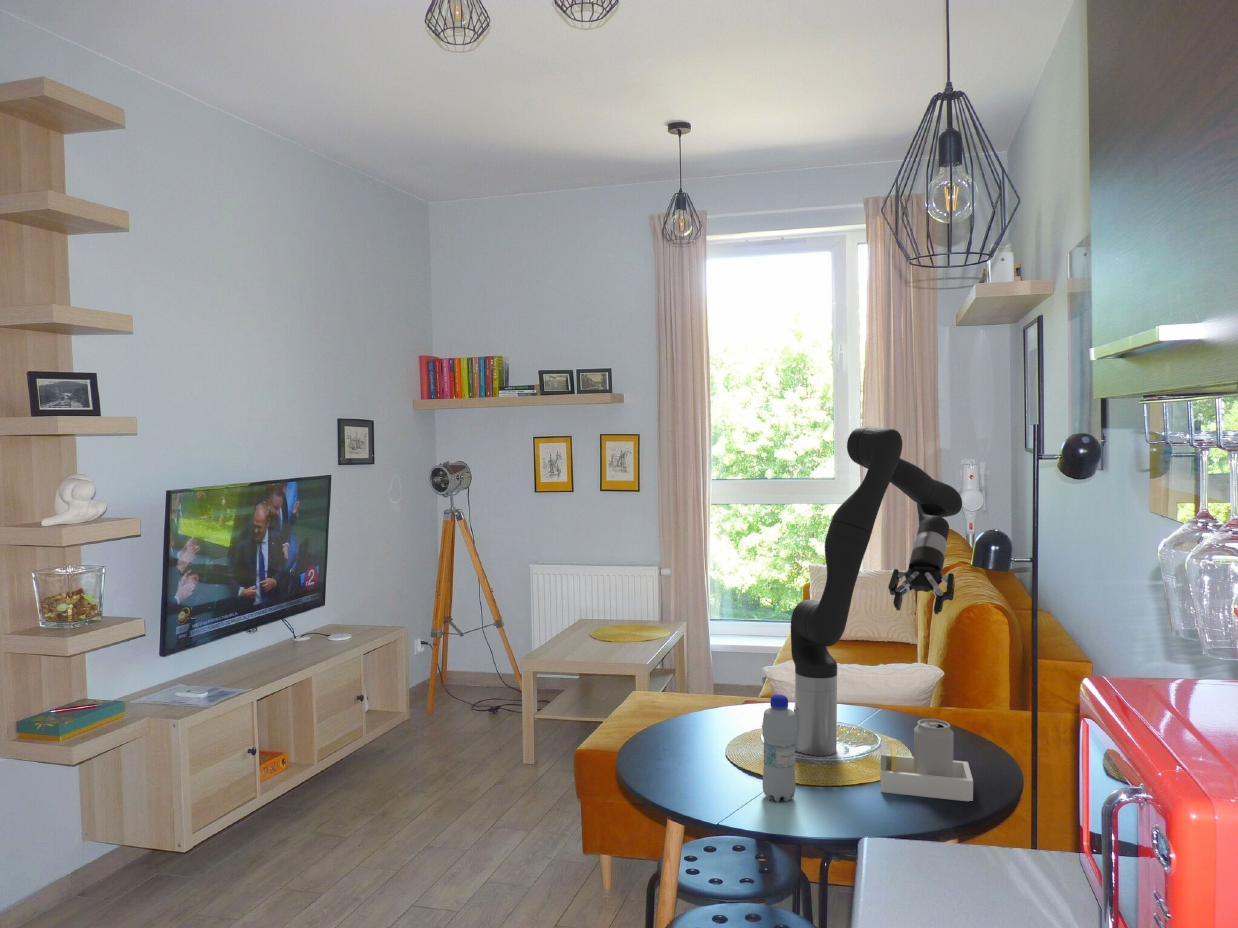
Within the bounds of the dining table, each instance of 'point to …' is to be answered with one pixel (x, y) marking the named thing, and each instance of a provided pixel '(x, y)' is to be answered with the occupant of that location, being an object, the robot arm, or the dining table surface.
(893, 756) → the pusher paddle
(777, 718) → the bottle
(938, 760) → the can
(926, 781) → the white open box
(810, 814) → the dining table surface
